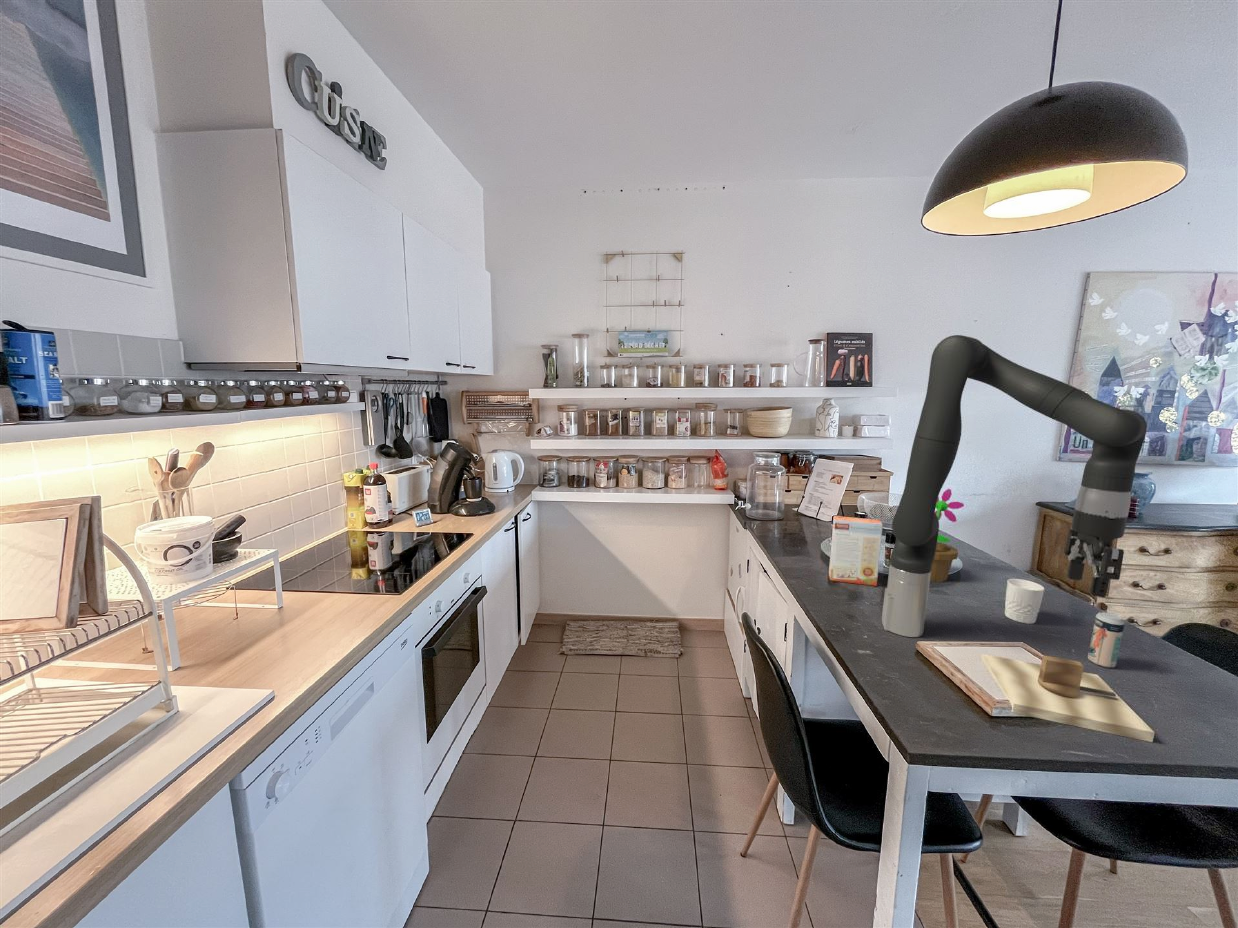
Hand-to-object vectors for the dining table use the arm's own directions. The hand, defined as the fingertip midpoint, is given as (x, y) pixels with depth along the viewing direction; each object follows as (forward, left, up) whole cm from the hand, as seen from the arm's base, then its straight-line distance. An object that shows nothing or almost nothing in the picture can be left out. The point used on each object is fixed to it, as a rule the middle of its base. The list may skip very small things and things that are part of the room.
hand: (1085, 587), depth 98 cm
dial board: (-3, -3, -24) cm, 24 cm away
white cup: (+4, +37, -24) cm, 44 cm away
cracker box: (-38, +47, -24) cm, 65 cm away
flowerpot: (-13, +62, -24) cm, 68 cm away
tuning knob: (0, -3, -21) cm, 22 cm away
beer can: (+13, +17, -24) cm, 32 cm away
